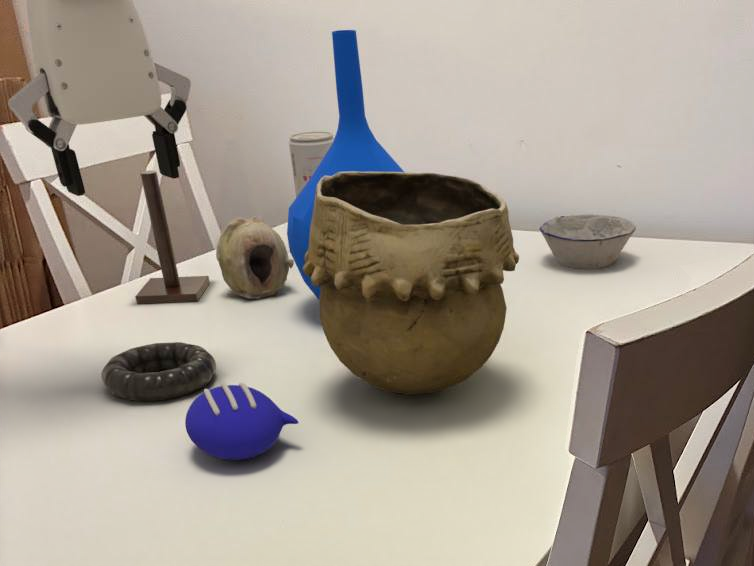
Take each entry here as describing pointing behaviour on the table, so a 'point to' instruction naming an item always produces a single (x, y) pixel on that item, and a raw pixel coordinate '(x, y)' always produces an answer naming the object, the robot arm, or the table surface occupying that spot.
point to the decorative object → (235, 422)
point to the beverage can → (307, 155)
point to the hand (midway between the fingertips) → (124, 184)
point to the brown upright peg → (165, 255)
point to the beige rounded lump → (252, 258)
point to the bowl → (587, 239)
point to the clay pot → (410, 275)
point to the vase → (339, 147)
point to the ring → (134, 383)
